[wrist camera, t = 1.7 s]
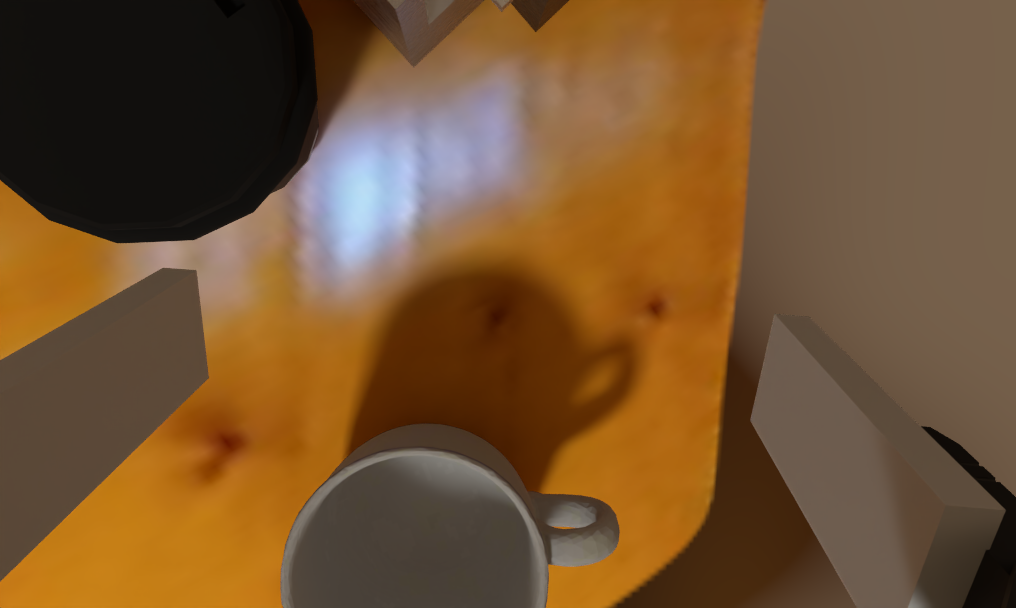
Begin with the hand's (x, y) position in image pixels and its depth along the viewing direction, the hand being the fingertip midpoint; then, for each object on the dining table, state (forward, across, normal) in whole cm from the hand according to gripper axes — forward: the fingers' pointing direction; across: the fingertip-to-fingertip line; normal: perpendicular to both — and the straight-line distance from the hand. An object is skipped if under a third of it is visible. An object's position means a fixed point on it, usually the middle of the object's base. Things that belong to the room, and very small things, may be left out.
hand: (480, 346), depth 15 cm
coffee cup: (+18, -13, +2) cm, 22 cm away
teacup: (+14, -2, -16) cm, 21 cm away
